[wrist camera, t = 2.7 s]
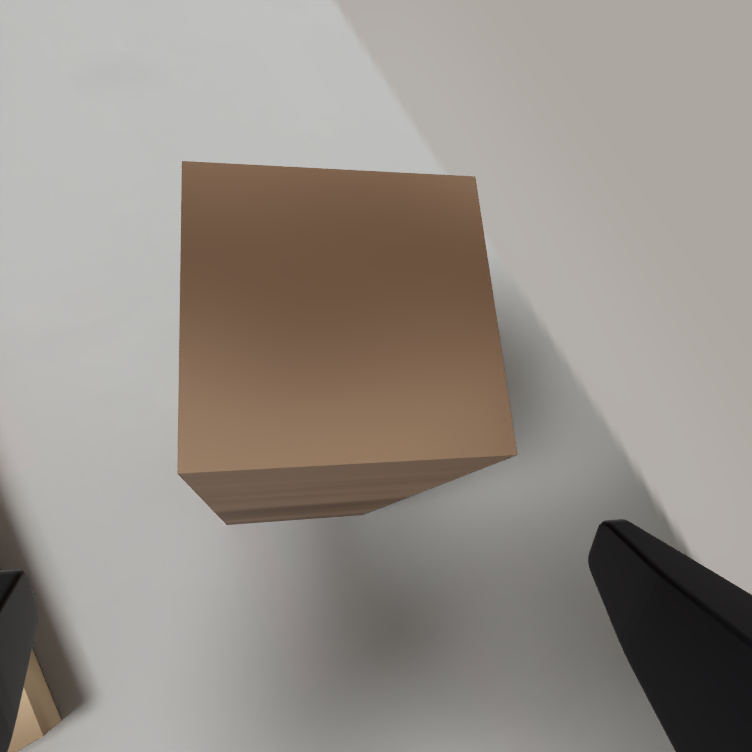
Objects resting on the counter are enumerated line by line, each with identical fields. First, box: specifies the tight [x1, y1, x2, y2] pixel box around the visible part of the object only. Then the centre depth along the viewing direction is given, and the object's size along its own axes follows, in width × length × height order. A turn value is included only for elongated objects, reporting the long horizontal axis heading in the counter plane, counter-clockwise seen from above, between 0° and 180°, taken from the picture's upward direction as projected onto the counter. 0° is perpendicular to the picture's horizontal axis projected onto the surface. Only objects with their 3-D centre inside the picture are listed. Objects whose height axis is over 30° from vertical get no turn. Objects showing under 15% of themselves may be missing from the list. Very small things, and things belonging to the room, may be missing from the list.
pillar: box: [178, 161, 517, 525], centre depth 14 cm, size 4×4×12 cm
